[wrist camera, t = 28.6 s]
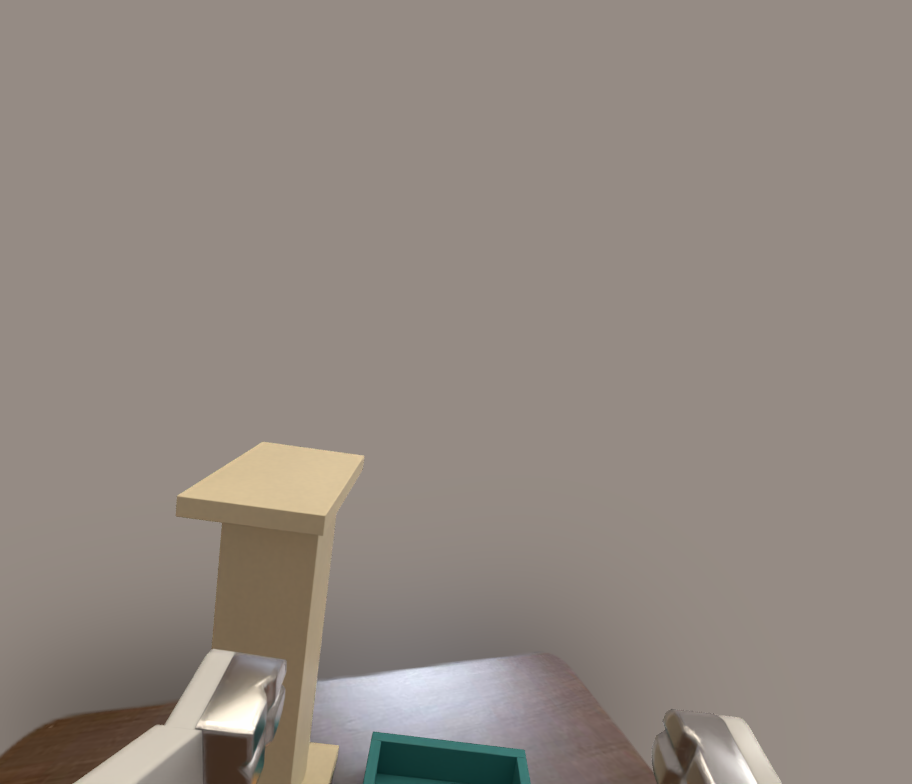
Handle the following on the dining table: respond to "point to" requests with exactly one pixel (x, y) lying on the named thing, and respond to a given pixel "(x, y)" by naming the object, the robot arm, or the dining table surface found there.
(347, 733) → the dining table surface
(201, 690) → the robot arm
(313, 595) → the stand
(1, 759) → the dining table surface
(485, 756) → the tray
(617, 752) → the dining table surface
